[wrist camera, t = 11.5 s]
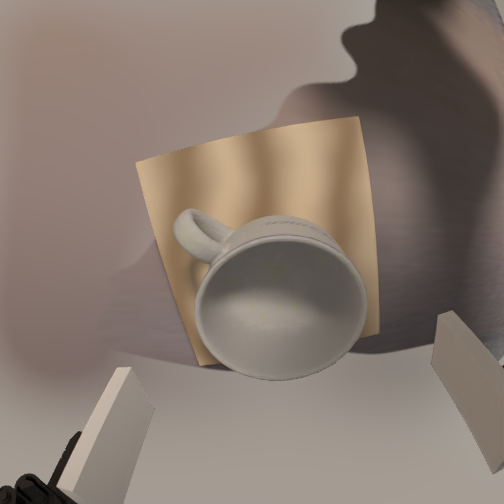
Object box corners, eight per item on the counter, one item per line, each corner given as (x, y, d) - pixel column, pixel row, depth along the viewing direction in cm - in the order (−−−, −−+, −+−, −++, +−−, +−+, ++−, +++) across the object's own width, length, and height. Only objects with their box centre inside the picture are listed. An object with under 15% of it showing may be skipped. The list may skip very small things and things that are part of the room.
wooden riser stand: (339, 121, 27) (358, 116, 21) (362, 304, 33) (379, 333, 28) (158, 158, 29) (135, 162, 23) (208, 332, 35) (199, 365, 29)
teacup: (360, 282, 26) (393, 332, 18) (260, 344, 28) (260, 406, 21) (268, 145, 22) (274, 144, 15) (160, 227, 25) (121, 263, 17)
